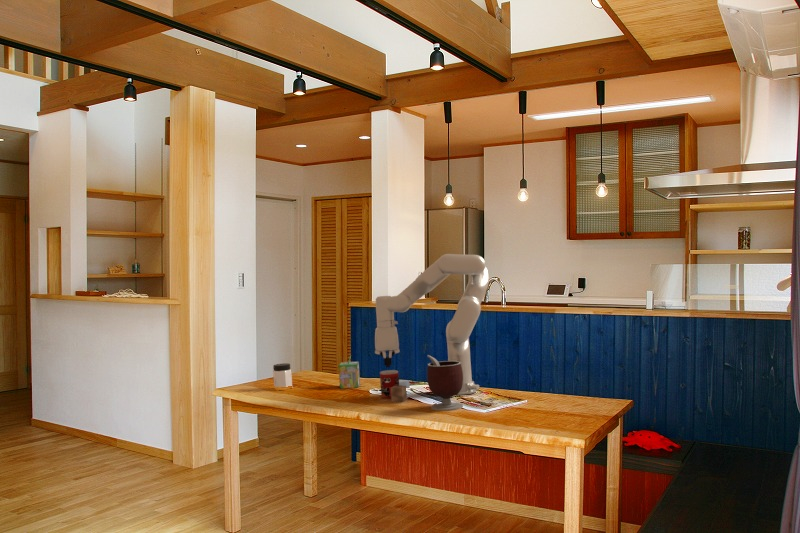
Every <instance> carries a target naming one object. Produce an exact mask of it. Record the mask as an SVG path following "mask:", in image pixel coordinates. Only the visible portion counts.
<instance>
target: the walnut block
mask: <svg viewBox="0 0 800 533" xmlns="http://www.w3.org/2000/svg"><path fill="white" fill-rule="evenodd" d="M407 393H408V392H407V391H406V386H393V387H391V399H390V400H391V403H404V402H406V401H408V397H407V396H408V394H407Z"/></svg>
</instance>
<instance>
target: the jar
mask: <svg viewBox="0 0 800 533" xmlns="http://www.w3.org/2000/svg"><path fill="white" fill-rule="evenodd" d="M272 369H273V370H272V374H273V387H274V386H275V387H288V386H292V387H293V376H292V369H291V364H290V363H287V362H286V363H275V364H274V365H273V368H272Z"/></svg>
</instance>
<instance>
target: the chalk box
mask: <svg viewBox="0 0 800 533" xmlns="http://www.w3.org/2000/svg"><path fill="white" fill-rule="evenodd" d="M351 356H352V355H350V356H349V357H348V361H341V362H339V364H338V377H339V389H340V390H341V389H345V390H346V389H359V387H360V385H361V379H360V362H359V361H351Z"/></svg>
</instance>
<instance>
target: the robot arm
mask: <svg viewBox="0 0 800 533" xmlns="http://www.w3.org/2000/svg"><path fill="white" fill-rule="evenodd" d="M451 275H464V276H465V275H466V276H467V275H468V276H469V278H468V282H467V285H466V287H465V290H464V292H463V293H462V295H461V298H460V299H459V301H458V303H457V308H456V310H455V313H454V315H453V317H452V318H451V320H450V321H449V322H448V323H447V325H446V328H445V336H446V343H447V344H446V345H447V347H446V348H447V357H448V358H447V361H458V362H461V366H462V371H463V385H462V389H461V390H460V392H459V393H458V394H456V395H457V396H460V395H461V396H462V395H464V396H465V395H470V394H471V395H472V394H474V393H476V392H477V390H479V388H480V385H479V384H476V383H475V381H474V380H473V379H472V377H473V376H472V364H471V348H470V347H471V346H470V336H471V334H472V332H473V329H475V328H474V327H475V325H476V323H477V321H478V320H479V317H480V314H481V310H482V307H481V304H482V302H483V299H484V297H485V295H486V292H487V290H488V287H489V284H490V274H489V270H488V268H487V266H486V260H485V259H484V258H483V257H482V256H481V255H479V254H457V253H455V254H454V253H445V254H442V255H441V256H440V257H438V259H436V260H435V261H434V262H433V263H432V264H430V265H429V266H428V267H427V268H426V269H425V270H424V271H423V272H422V273H420V274H419V275H418V276H417V277H416V279H415V280H413V281H412V282H411V283H410V284H409V285H408V286H407V287H406V288H405V289H403V290H402V291H400V293H398V294H397V295H394V296H391V295H379V296H377V297H376V298H375V313H376V328H375V332H374V348H375V350H374V354H376V355H380V356H381V357H382V358H383V363H384V366H385V367H386V369H387V368H390V367H391V366H392V364H393V363H392V357H393V356H394V355H396V354H399V353H400V352H401V351H400V342H399V334H398V329H397V326H396V325H398V324H399V323H398V321H397V320H395V313H405V312H407V311H409V310H410V308H411V307H412V306H413V305H414V304H415V303H416V302H418V301H419V300H420V299H422V297H424V296H425V295H426V294H428V293H430V292H432V291H433V290H434V289H435V288H436V287H438V286H439V285H440V284H441V283H443V281H444V280H446V279H447V278H448V277H449V276H451ZM387 352H388V356H387ZM456 395H455V396H456Z"/></svg>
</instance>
